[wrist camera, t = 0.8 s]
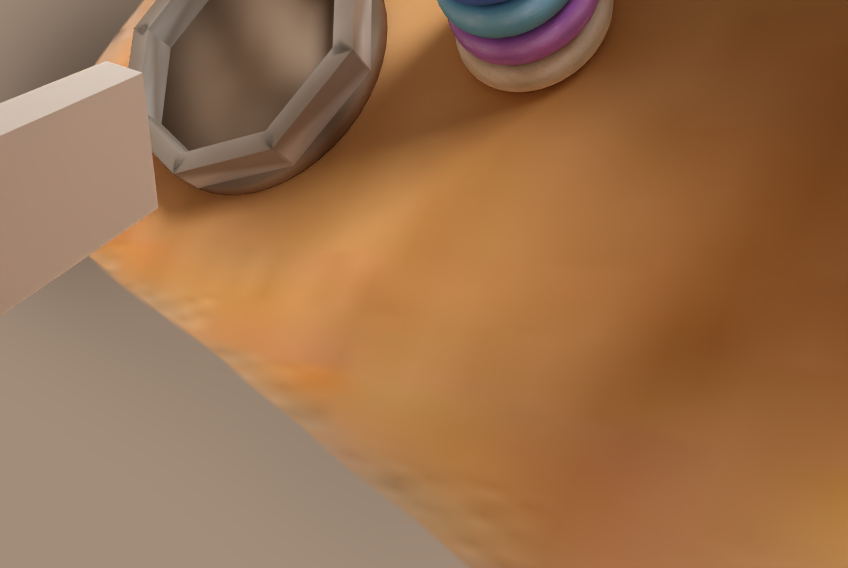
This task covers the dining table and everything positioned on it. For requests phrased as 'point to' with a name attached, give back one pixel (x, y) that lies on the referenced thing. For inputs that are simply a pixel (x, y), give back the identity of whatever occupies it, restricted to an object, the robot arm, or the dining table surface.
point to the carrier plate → (254, 84)
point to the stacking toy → (526, 38)
